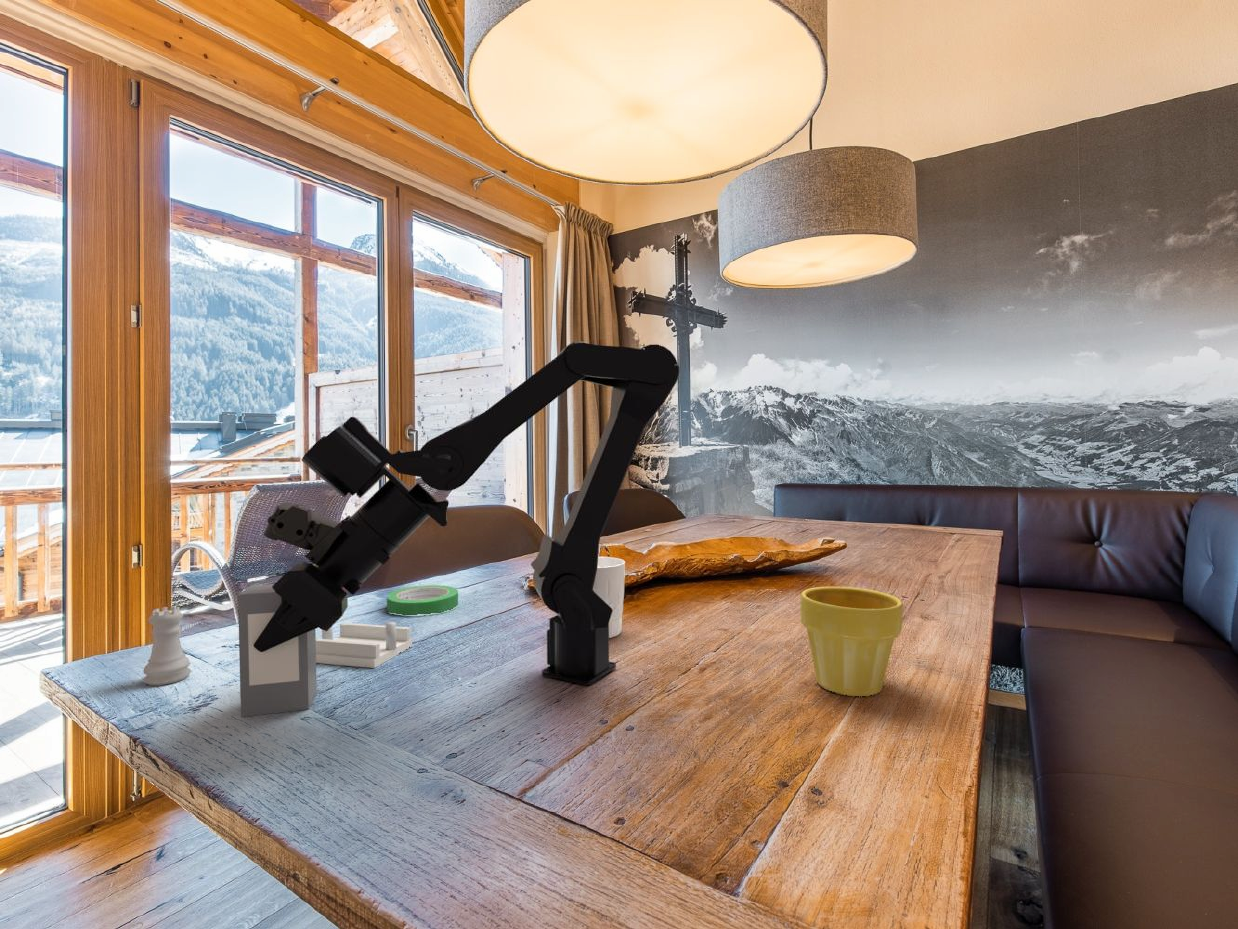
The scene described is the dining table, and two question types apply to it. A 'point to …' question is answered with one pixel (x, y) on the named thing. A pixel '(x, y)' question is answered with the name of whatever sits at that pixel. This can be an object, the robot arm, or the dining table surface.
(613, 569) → the white cup
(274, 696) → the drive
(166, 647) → the rook chess piece
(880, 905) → the dining table surface
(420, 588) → the tape roll
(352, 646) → the tray
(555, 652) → the robot arm
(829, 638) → the plant pot
